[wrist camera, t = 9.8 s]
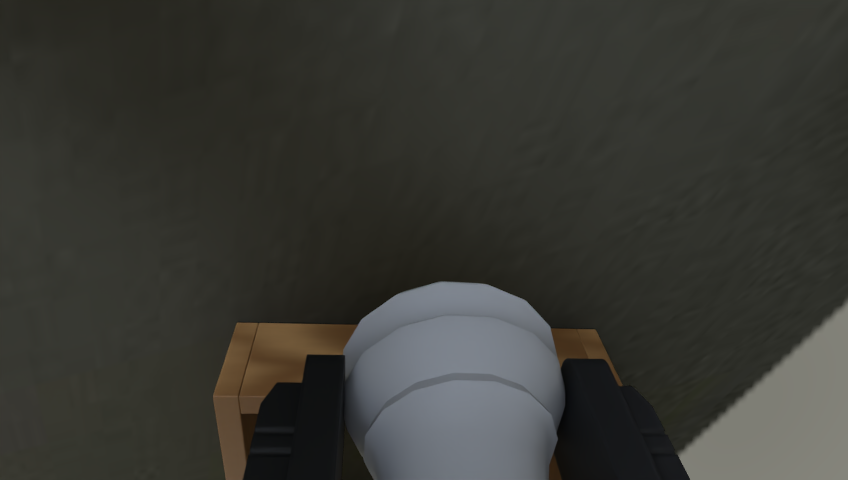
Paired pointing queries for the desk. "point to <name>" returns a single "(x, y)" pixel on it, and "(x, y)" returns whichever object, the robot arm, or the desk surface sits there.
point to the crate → (284, 362)
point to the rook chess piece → (454, 386)
